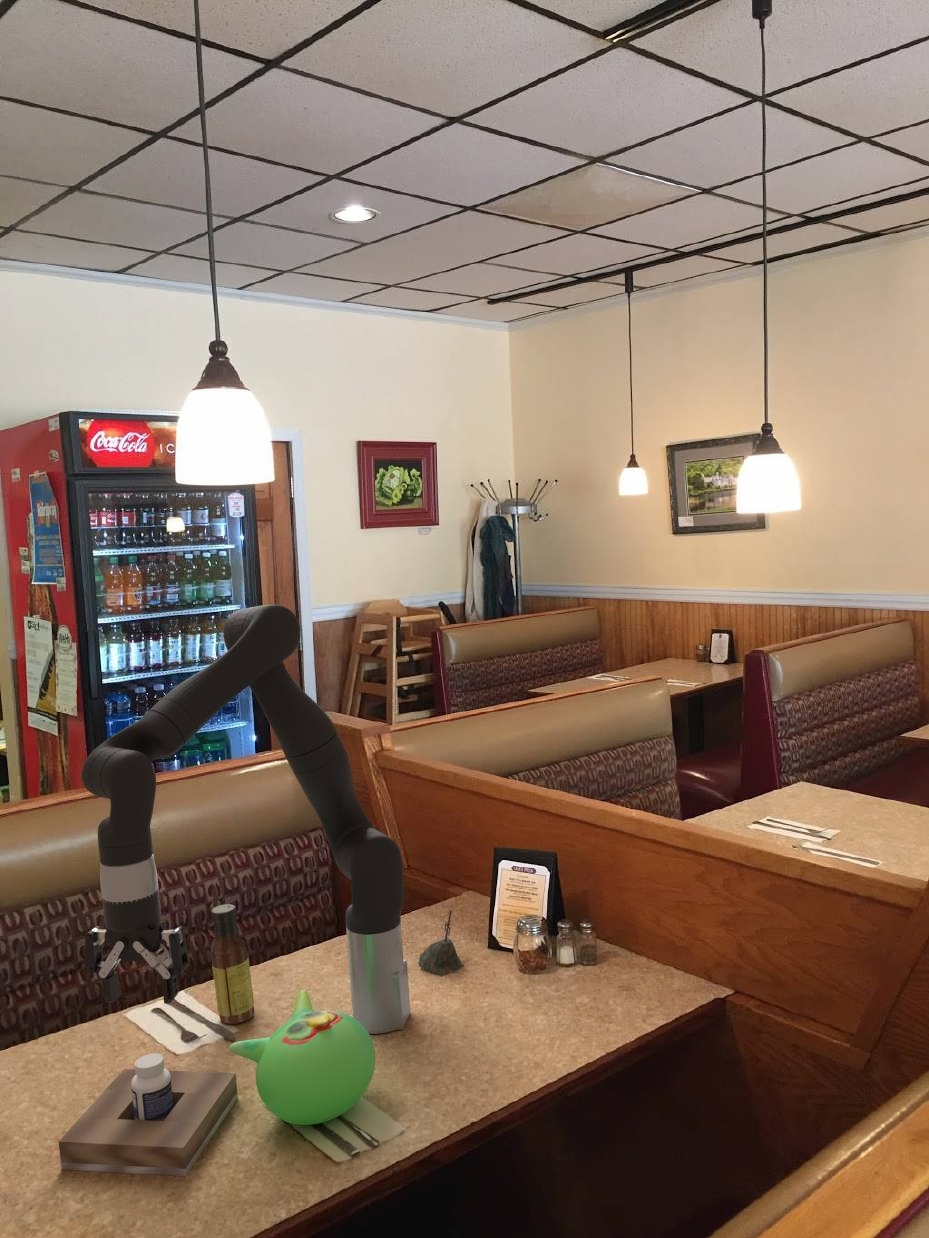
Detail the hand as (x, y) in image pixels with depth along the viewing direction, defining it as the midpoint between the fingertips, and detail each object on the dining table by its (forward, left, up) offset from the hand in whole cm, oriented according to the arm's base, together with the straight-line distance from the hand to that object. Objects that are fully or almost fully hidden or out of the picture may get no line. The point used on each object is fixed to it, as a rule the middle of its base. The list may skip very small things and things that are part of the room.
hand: (141, 1000), depth 144 cm
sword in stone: (-31, -55, -20) cm, 66 cm away
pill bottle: (0, 0, -19) cm, 19 cm away
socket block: (0, 0, -20) cm, 20 cm away
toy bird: (-22, -7, -20) cm, 30 cm away
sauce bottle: (+1, -33, -20) cm, 39 cm away
